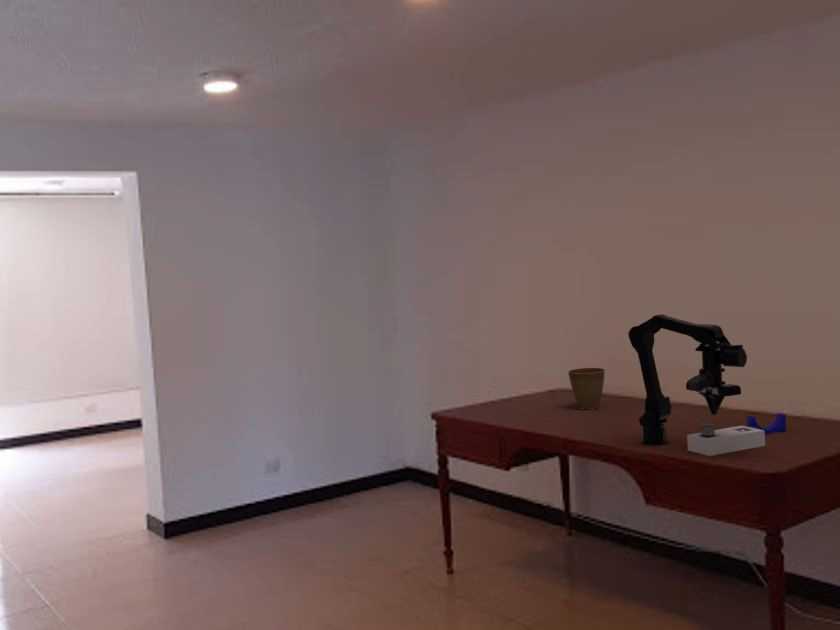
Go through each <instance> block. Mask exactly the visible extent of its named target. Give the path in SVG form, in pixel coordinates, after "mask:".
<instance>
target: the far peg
mask: <svg viewBox="0 0 840 630" xmlns="http://www.w3.org/2000/svg"><path fill="white" fill-rule="evenodd" d="M736 430H737V431H741V432H744V431H750V429H747V428H739V429H736Z"/></svg>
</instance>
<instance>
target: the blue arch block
mask: <svg viewBox="0 0 840 630" xmlns="http://www.w3.org/2000/svg"><path fill="white" fill-rule="evenodd" d="M786 417H787V416H786V413H782V412H778V413H776V418H775V420H774V422H773V423H772V424H771V425H769V426H766V427H762V426H761V425H759V424H758V422H757V419H756V416H754V415H747V416H746V422H747V423H746V425H747V426H746V427H751V428H755V429H760V430H764V432H765V435H771V434H773V433H785V432H787V422H786V421H787V420H786V419H787V418H786Z"/></svg>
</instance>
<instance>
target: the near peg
mask: <svg viewBox="0 0 840 630" xmlns="http://www.w3.org/2000/svg"><path fill="white" fill-rule="evenodd" d="M714 430H715V423H701V424H700V433H701V437H705V438H710V437H715V432H714Z"/></svg>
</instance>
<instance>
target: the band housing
mask: <svg viewBox="0 0 840 630" xmlns="http://www.w3.org/2000/svg"><path fill="white" fill-rule="evenodd" d="M739 428H747V429H750V431H744V432H741V431H737V430H736V429H739ZM714 432H715V437H710V438H705V437H701V432H697V433H690V434H687V435H686V437H687V438H686V439H687V442H686V443H687V451H689V452H693V453H697V454H700V455H702V456H704V455H705V456H707V457H713V456H718V454H719V455H722V454H723V455H724V454H729V453H733V452H734V453H735V452H740V451H745V450H750V449H757V448H762V447H766V434H765V432H764V430H760V429H755V428H751V427H747V426H745V425H737V426H731V427H726V428H720V429H714Z"/></svg>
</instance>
